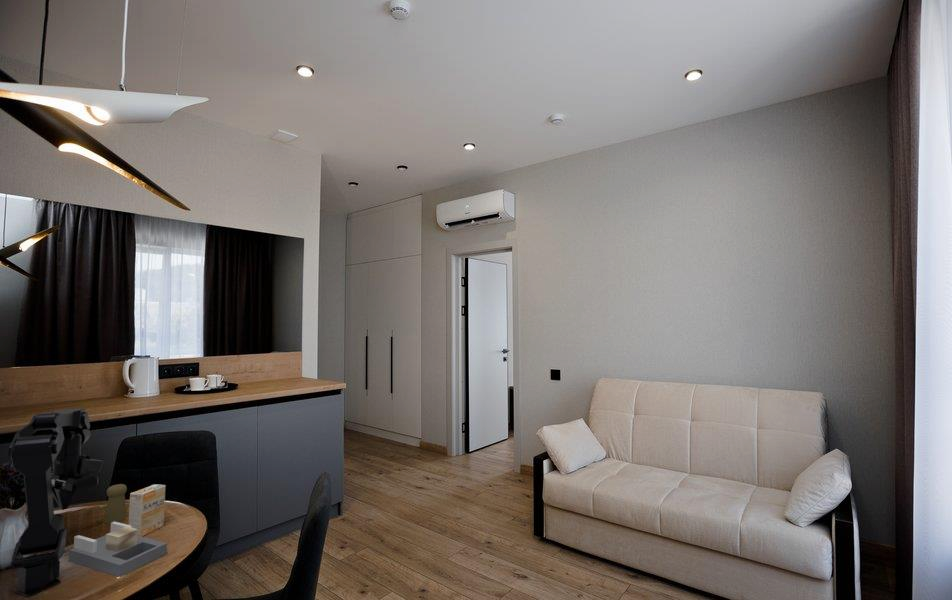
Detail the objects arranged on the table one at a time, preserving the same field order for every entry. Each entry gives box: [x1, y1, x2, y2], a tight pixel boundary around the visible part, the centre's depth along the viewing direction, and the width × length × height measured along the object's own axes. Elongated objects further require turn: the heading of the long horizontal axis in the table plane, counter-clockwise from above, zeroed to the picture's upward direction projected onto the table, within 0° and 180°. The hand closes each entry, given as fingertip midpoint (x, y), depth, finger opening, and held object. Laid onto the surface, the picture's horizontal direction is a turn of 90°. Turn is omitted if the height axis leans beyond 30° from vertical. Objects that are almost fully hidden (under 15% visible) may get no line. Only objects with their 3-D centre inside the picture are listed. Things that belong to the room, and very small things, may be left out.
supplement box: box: [128, 484, 166, 537], centre depth 138 cm, size 8×5×13 cm, turn 168°
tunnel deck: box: [68, 521, 168, 578], centre depth 123 cm, size 12×21×6 cm, turn 70°
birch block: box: [105, 526, 138, 552], centre depth 123 cm, size 5×5×4 cm
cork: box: [103, 483, 128, 524], centre depth 146 cm, size 6×6×11 cm
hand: (64, 509), depth 125 cm, fingers closed
